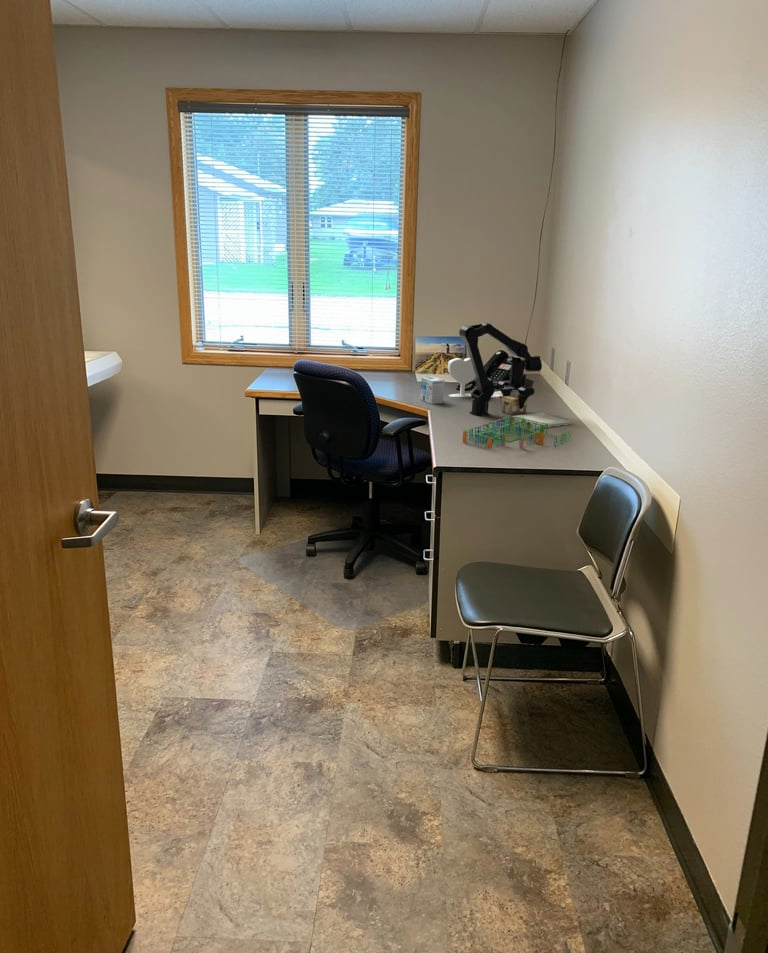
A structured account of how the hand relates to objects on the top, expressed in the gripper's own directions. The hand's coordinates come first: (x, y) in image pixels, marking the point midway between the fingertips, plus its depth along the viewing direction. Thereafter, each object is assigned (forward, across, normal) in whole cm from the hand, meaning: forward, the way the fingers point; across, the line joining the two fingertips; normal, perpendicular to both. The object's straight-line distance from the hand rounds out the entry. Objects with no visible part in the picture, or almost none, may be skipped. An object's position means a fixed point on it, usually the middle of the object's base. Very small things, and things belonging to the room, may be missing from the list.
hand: (514, 406), depth 331 cm
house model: (+3, -38, +29) cm, 48 cm away
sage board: (+3, -18, +1) cm, 18 cm away
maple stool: (+3, 0, 0) cm, 3 cm away
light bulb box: (+3, +34, +21) cm, 40 cm away
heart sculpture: (+3, +39, 0) cm, 39 cm away
